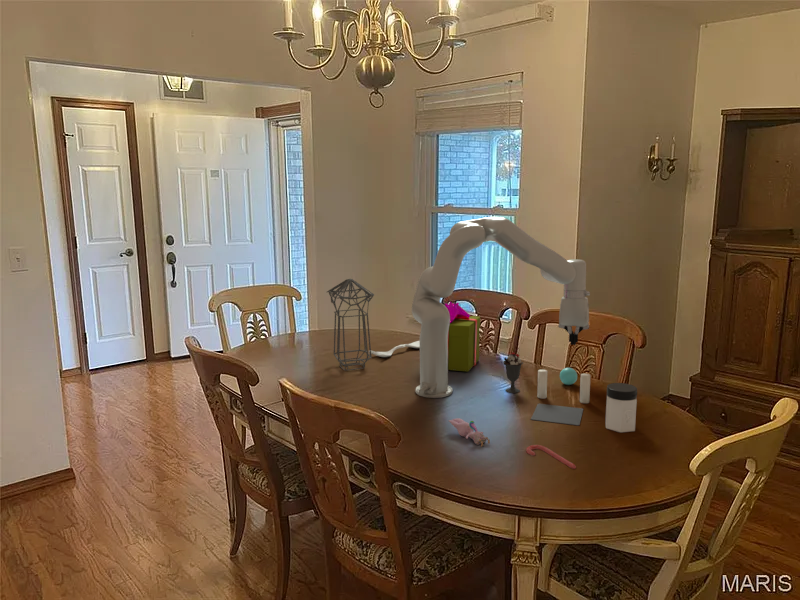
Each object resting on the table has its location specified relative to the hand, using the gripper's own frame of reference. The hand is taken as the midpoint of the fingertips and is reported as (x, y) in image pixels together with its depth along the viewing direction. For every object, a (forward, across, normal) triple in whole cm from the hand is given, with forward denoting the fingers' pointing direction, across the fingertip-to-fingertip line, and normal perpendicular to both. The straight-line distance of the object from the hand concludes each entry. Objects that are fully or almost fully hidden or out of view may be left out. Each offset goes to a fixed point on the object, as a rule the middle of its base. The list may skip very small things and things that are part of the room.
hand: (573, 344), depth 219 cm
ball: (+9, 0, +10) cm, 13 cm away
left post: (+12, +7, +26) cm, 29 cm away
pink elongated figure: (+12, +22, +66) cm, 70 cm away
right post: (+12, -6, +26) cm, 29 cm away
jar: (+12, -17, +44) cm, 49 cm away
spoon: (+12, +71, -12) cm, 73 cm away
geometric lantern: (+11, +82, +16) cm, 84 cm away
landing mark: (+12, +1, +40) cm, 42 cm away
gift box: (+12, +46, 0) cm, 47 cm away
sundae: (+12, +18, +23) cm, 31 cm away
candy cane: (+12, -2, +71) cm, 72 cm away
